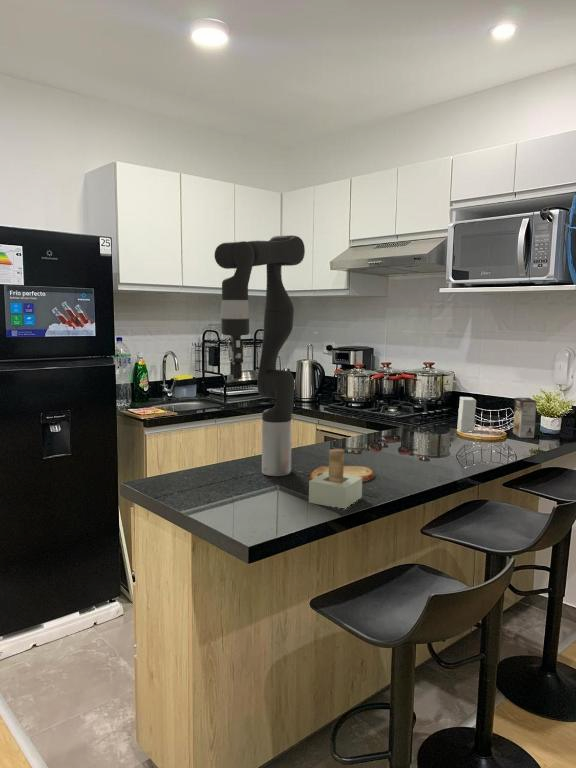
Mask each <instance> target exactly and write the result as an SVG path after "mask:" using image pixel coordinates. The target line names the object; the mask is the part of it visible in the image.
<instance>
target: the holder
mask: <svg viewBox="0 0 576 768" xmlns="http://www.w3.org/2000/svg"><path fill="white" fill-rule="evenodd" d="M361 497H363V482H362V477H356V476H350V475H344V474H343V483H336V482H331V481H329V472H325V473H323V474H321V475H319V476H318V477H316V478H314V479H312V480H310V479H309V481H308V503H309V504H315V505H321V506H324V507H330V506H331V508H335V507H338V508H337V509H340V508H345V509H346V508H347V507H349V506H350V505H351V504H353V503H354V502H356V501H357V500H358V499H360V498H361ZM361 499H362V498H361ZM361 499H360V500H361ZM357 502H358V501H357ZM357 502H356V503H357ZM354 504H355V503H354ZM354 504H353V505H354ZM350 507H351V506H350ZM350 507H349V508H350ZM345 509H344V510H345ZM347 509H348V508H347ZM347 509H346V510H347Z"/></svg>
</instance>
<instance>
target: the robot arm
mask: <svg viewBox="0 0 576 768" xmlns="http://www.w3.org/2000/svg"><path fill="white" fill-rule="evenodd" d="M305 252H306V249H305V244H304V241H303V239H302V238H301V237H299V236H297V235H273V236H271V237H270V238H269V239H268V240H247V241H245V240H240V241H224V242H221V243H220V244H218V245H217V247H216V248H215V250H214V260H215V262H216V264H217V266H219V267H220V268H222V269H226V270H227V269H228V270H229V269H230V270H231V269H232V270H233V269H235V272H234V274H233V276H230V277H227V278H224V279H223V280H222V282H221V308H220V310H221V312H220V313H221V314H220V315H221V317H220V318H221V319H220V321H221V323H220V324H221V327H220V328H221V335H223V336H230V337H228V341H227V348H228V350H227V351H228V361H229V364H230V365H229V366H230V367H229V368H230V369H229V370H230V371H229V373H230V375H231V376H232V377H233V379H235V380H239V379H242V377H243V376H242V375H243V373H242V371H243V370H242V369H243V363H244V345H245V344H244V341H243V339H242V336H248V335H250V305H249V283H250V279H251V274H252V271H253V267H259V266H265V265H266V290H265V291H266V293H265V302H264V303H265V304H264V306H265V307H264V315H263V332H262V333H263V335H262V344H261V345H262V346H261V355H260V361H259V366H258V367H259V368H258V373H257V382H256V384H257V385H256V386H257V387H256V388H257V392H258V394H259V396H260V397H262V398H264V399H265V398H267V399H273V400H275V403H274V406H273V407H271V408H267V409H265V410H263V412H262V413H261V415H262V416H261V421H262V423H261V425H262V426H261V473H262V475H266V476H270V477H283V476H287V475H290V474H291V471H292V442H291V441H292V415H293V410H294V401H295V400H294V398H295V378H294V375H293V373H292V372H291V371H289V370H283V369H277V367H276V365H277V360H278V357H279V353H280V351H281V349H282V347H283V346H284V344H285V343H286V341H287V340H288V338H289V337H290V335H291V333H292V330H293V326H294V317H295V316H294V314H295V313H294V310H295V309H294V304H293V302H292V300H291V298H290V296H289V294H288V293H287V290H286V288H285V286H284V283H283V279H282V266H283V267H288V266H289V267H290V266H296V265H299V264H301V263H302V262H303V260H304V259H305Z"/></svg>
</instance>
